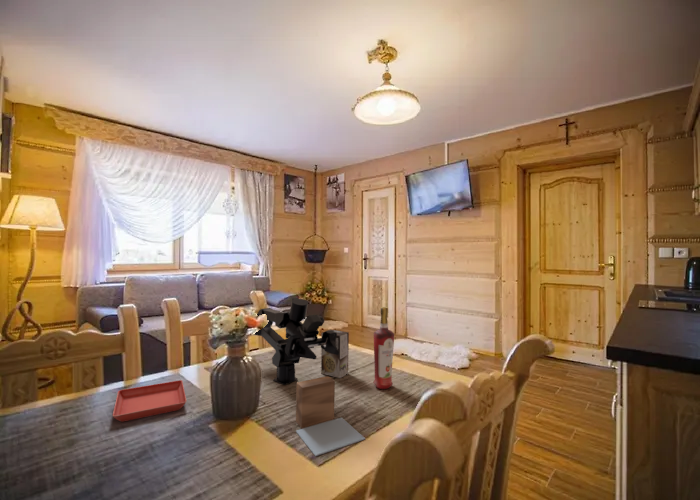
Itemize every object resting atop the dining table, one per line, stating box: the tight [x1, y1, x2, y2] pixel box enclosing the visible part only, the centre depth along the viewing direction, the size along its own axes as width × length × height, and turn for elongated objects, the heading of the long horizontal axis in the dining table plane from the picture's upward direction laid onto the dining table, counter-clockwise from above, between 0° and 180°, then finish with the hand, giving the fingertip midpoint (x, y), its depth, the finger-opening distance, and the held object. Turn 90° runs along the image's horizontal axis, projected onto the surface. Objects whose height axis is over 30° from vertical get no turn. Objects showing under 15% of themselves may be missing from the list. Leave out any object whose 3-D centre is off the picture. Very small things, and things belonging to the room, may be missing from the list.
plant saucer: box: [112, 379, 187, 423], centre depth 101 cm, size 18×18×3 cm
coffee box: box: [320, 329, 350, 379], centre depth 129 cm, size 9×6×16 cm
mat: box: [295, 417, 366, 457], centre depth 86 cm, size 12×14×1 cm
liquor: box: [372, 306, 395, 390], centre depth 117 cm, size 7×7×28 cm
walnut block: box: [295, 375, 336, 429], centre depth 94 cm, size 4×10×11 cm, turn 122°
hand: (327, 355), depth 103 cm, fingers open, 9 cm apart
